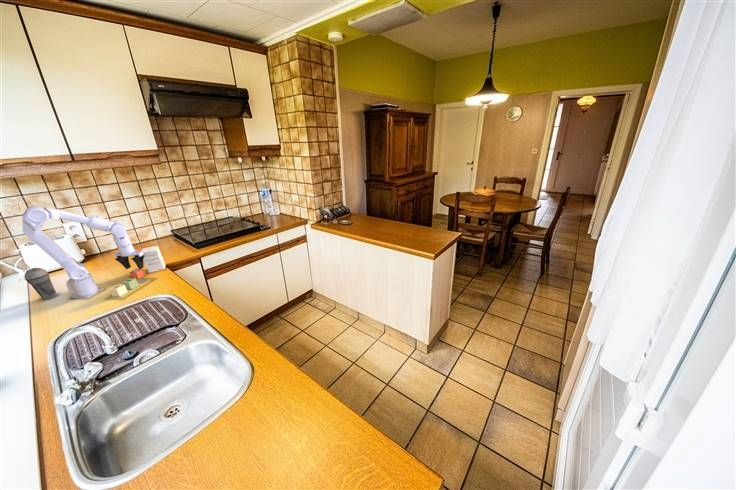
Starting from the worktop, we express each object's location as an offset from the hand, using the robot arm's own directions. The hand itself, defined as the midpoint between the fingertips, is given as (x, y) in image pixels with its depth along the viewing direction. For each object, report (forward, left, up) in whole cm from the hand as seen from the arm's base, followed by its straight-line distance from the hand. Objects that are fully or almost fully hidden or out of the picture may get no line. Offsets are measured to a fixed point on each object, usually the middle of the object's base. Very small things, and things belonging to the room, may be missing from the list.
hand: (135, 268), depth 140 cm
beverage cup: (-29, -19, -6) cm, 35 cm away
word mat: (+7, -11, -5) cm, 14 cm away
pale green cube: (+7, -11, -5) cm, 14 cm away
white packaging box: (+3, +9, -6) cm, 11 cm away
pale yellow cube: (+7, -17, -5) cm, 19 cm away
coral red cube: (0, 0, -5) cm, 5 cm away
